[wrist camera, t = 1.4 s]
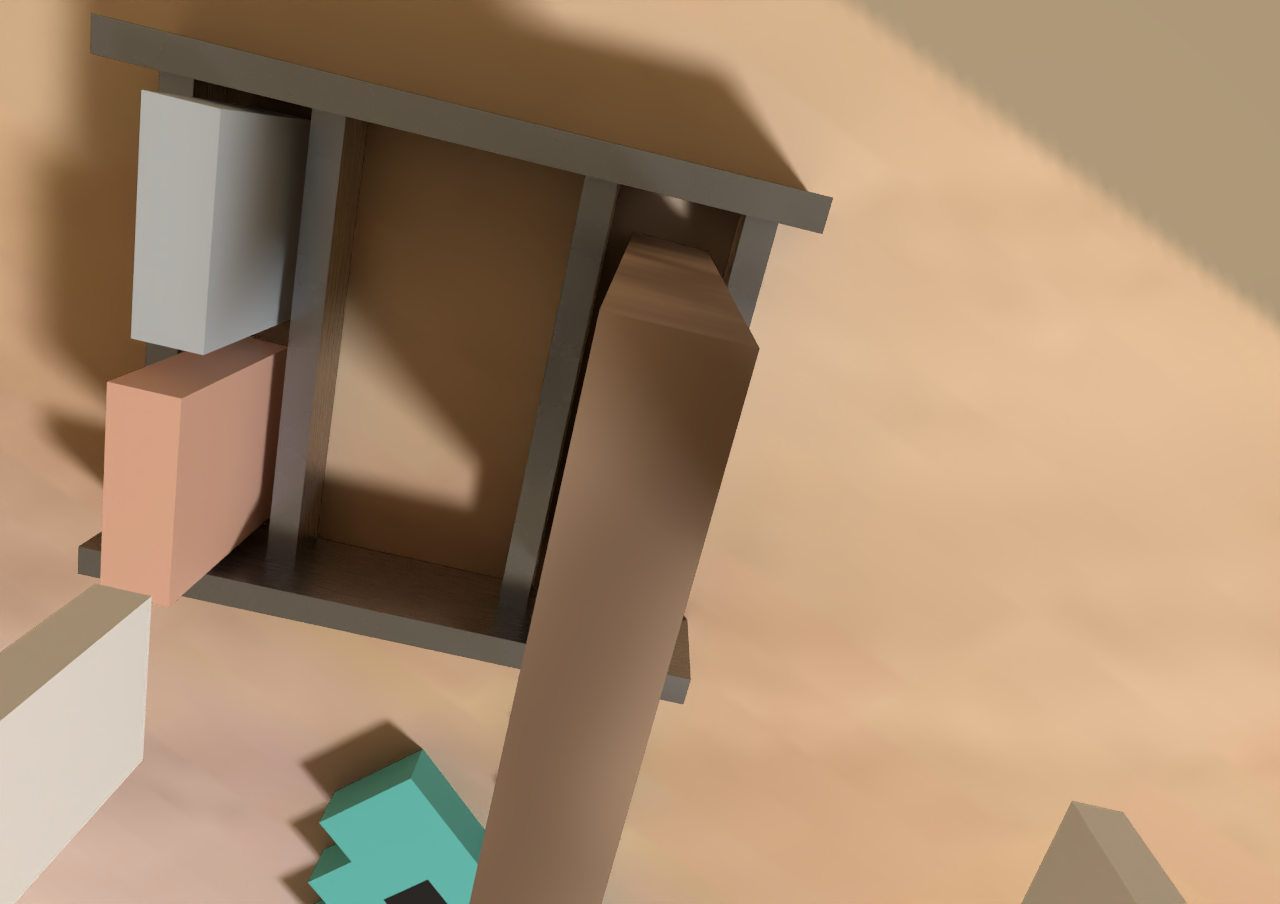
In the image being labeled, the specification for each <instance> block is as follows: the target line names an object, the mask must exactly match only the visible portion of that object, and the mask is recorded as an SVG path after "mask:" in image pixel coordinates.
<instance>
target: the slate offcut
mask: <svg viewBox="0 0 1280 904" xmlns="http://www.w3.org/2000/svg"><path fill="white" fill-rule="evenodd" d="M310 126H311V121H310V120H306V119H302V118H298V117H294V116H290V115H286V114H282V113H278V112H274V111H270V110H266V109H261V108H257V107H253V106H249V105H242V104H235V103H229V102H222V101H215V100H208V99H202V98H195V97H188V96H182V95H175V94H168V93H162V92H155V91H148V90H141V111H140V135H139V158H138V182H137V205H136V229H135V252H134V276H133V299H132V323H131V339H135V340H140V341H144V342H148V343H153V344H157V345H161V346H166V347H170V348H174V349H179V350H183V351H187V352H192V353H196V354H200V355H205V354H207V353H210V352H212V351H215V350H217V349H220V348H222V347H224V346H227V345H229V344H232V343H234V342H237V341H239V340H242V339H244V338H246V337H249V336H251V335H254V334H256V333H259V332H261V331H263V330H266V329H268V328H271V327H273V326H276V325H278V324H281V323H283V322H285V321H288V320H290V319H291V311H292V301H293V291H294V282H295V272H296V262H297V252H298V243H299V233H300V223H301V213H302V204H303V194H304V184H305V174H306V165H307V155H308V145H309V135H310Z"/></svg>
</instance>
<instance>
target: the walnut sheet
mask: <svg viewBox="0 0 1280 904" xmlns="http://www.w3.org/2000/svg"><path fill="white" fill-rule="evenodd" d="M758 352H759V346H758V345H757V343H756V341H755V339H754V337H753V335H752V333H751V332H750V330H749V328H748V326H747V324H746V322H745V320H744V318H743V317H742V315H741V313H740V311H739V309H738V307H737V305H736V304H735V302H734V300H733V298H732V296H731V294H730V292H729V290H728V289H727V287H726V285H725V283H724V281H723V279H722V277H721V276H720V274H719V272H718V270H717V268H716V266H715V264H714V262H713V261H712V259H711V257H710V255H709V253H708V251H707V250H703V249H699V248H695V247H691V246H687V245H683V244H679V243H675V242H670V241H666V240H662V239H658V238H654V237H650V236H646V235H642V234H638V233H634V232H633V235H632V237H631V239H630V241H629V244H628V246H627V248H626V251H625V253H624V255H623V257H622V260H621V262H620V264H619V267H618V269H617V271H616V273H615V276H614V278H613V280H612V283H611V285H610V287H609V290H608V292H607V294H606V296H605V299H604V301H603V303H602V306H601V308H600V310H599V315H598V319H597V324H596V328H595V333H594V337H593V342H592V347H591V351H590V356H589V360H588V365H587V369H586V374H585V378H584V383H583V388H582V392H581V397H580V401H579V406H578V410H577V415H576V419H575V424H574V429H573V433H572V438H571V442H570V447H569V451H568V456H567V460H566V465H565V470H564V474H563V479H562V483H561V488H560V492H559V497H558V501H557V506H556V511H555V515H554V520H553V524H552V529H551V533H550V538H549V542H548V547H547V552H546V556H545V561H544V565H543V570H542V574H541V579H540V583H539V588H538V593H537V597H536V602H535V606H534V611H533V615H532V620H531V624H530V629H529V633H528V638H527V643H526V647H525V652H524V656H523V661H522V665H521V670H520V674H519V679H518V684H517V688H516V693H515V697H514V702H513V706H512V711H511V715H510V720H509V725H508V729H507V734H506V738H505V743H504V747H503V752H502V756H501V761H500V766H499V770H498V775H497V779H496V784H495V788H494V793H493V797H492V802H491V807H490V811H489V816H488V820H487V825H486V829H485V834H484V838H483V843H482V848H481V852H480V857H479V861H478V866H477V870H476V875H475V879H474V884H473V889H472V893H471V898H470V902H469V904H602V900H603V897H604V893H605V890H606V886H607V883H608V879H609V876H610V872H611V869H612V865H613V862H614V858H615V855H616V851H617V848H618V844H619V841H620V837H621V833H622V830H623V826H624V823H625V819H626V816H627V812H628V809H629V805H630V802H631V798H632V795H633V791H634V788H635V784H636V781H637V777H638V774H639V770H640V767H641V763H642V760H643V756H644V753H645V749H646V746H647V742H648V739H649V735H650V732H651V728H652V724H653V721H654V717H655V714H656V710H657V707H658V703H659V700H660V696H661V693H662V689H663V686H664V682H665V679H666V675H667V672H668V668H669V665H670V661H671V658H672V654H673V651H674V647H675V644H676V640H677V637H678V633H679V630H680V626H681V623H682V619H683V615H684V612H685V608H686V605H687V601H688V598H689V594H690V591H691V587H692V584H693V580H694V577H695V573H696V570H697V566H698V563H699V559H700V556H701V552H702V549H703V545H704V542H705V538H706V535H707V531H708V528H709V524H710V521H711V517H712V514H713V510H714V506H715V503H716V499H717V496H718V492H719V489H720V485H721V482H722V478H723V475H724V471H725V468H726V464H727V461H728V457H729V454H730V450H731V447H732V443H733V440H734V436H735V433H736V429H737V426H738V422H739V419H740V415H741V412H742V408H743V405H744V401H745V397H746V394H747V390H748V387H749V383H750V380H751V376H752V373H753V369H754V366H755V362H756V359H757V355H758Z"/></svg>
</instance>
